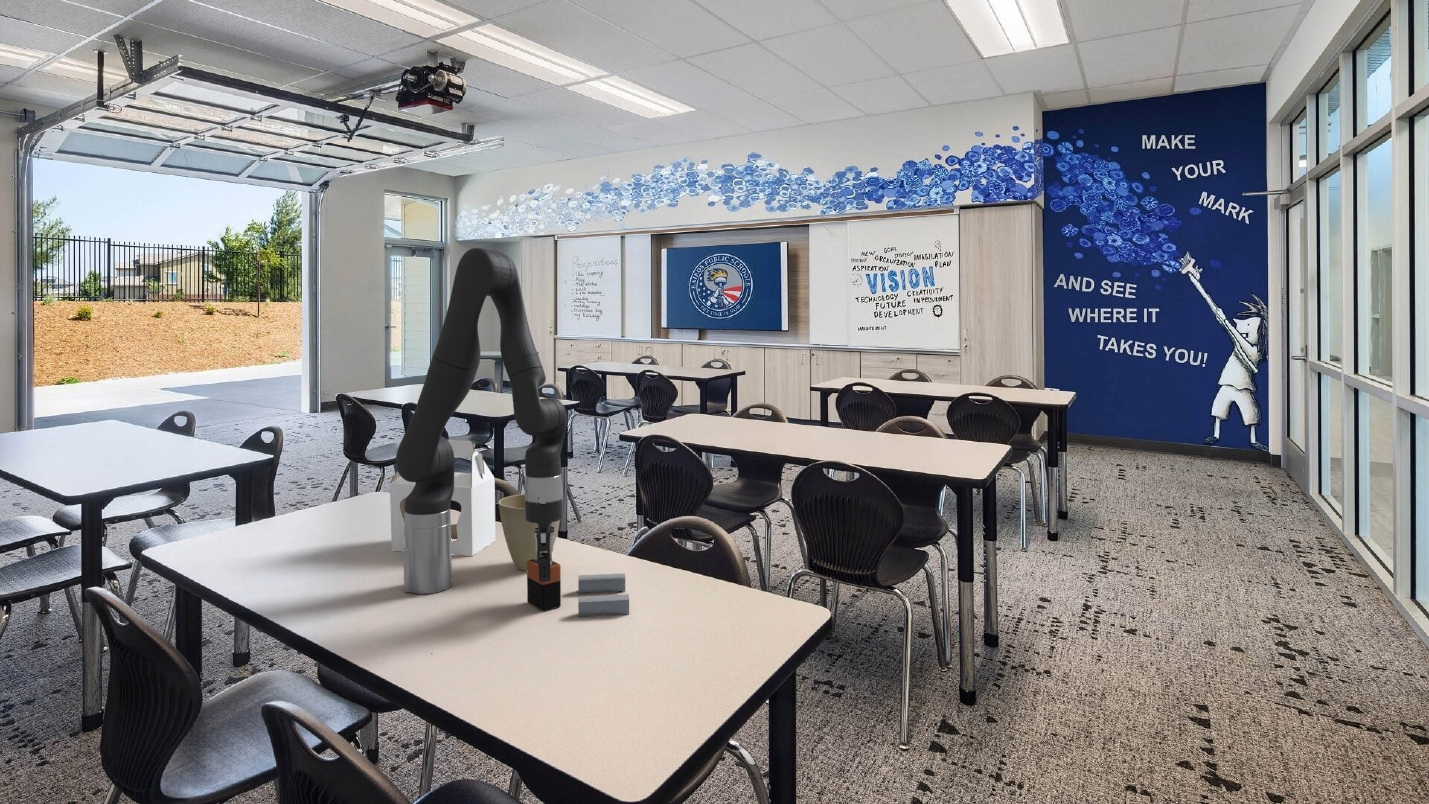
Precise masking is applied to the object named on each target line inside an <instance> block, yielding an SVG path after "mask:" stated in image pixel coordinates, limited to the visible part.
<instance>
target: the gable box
mask: <svg viewBox="0 0 1429 804" xmlns="http://www.w3.org/2000/svg"><path fill="white" fill-rule="evenodd" d="M446 439H447V438H446ZM447 440H448V441H449V443H450V444H451V446H452V449H453V452H454V459H456V458H457V459H458V458H459V459H467V460H470V469H471V470H470V472H458V471H457V472H456V471H454V492H453V496H452V498H451V501H454V502H457V503H459V505H460V506H461V507H460V508H461V509H460V513H459V516H458V519H457V523H456V524H453V523H452V524H451V538H452V539H457V540H456V541H453V542H452V541H451V554H454V555H453V556H457V555H467V556H466V557H474V556H475V555H476V554H475V553H477V554H479V553H480V552H482V551H483V550H484V549H483V548H485V547H486V546H488V545H489V546H491V545H492V544H493V543H492V542H494V541H495V542H496V495H495V494H496V492H495V491H496V489H495V488H496V487H495V486H496V485H495V483H496V482H495V476H494V474H492V471H491V470H490V468H489V467H488V465H487V463H486V462H485V460H484V454H483V452H479V451H475V449H476V443H474V442H473V441H472V440H471V439H469V440H468V439H447ZM415 484H416V482H409V481H406V480H404V479H403V478H402V477H401V476H400V475H399V473H398V471H397V470H396V471H395V473H394V475H393V477H392V479H391V481H390V482H389V501H390V502H389V503H390V507H389V508H390V532H391V533H390V534H391V535H390V536H391V539H390V540H391V551H392V552H395V551H403V550H404V548H405V546H406V532H405V499H406V497H407V496H408V495H409V494H410V493H411V492H412V490H413V488H414V486H415ZM495 542H494V543H495ZM491 543H492V544H491ZM490 544H491V545H490ZM489 546H488V547H489ZM486 548H487V547H486ZM486 548H485V549H486ZM482 549H483V550H482ZM479 551H480V552H479ZM474 554H475V555H474ZM473 555H474V556H473Z"/></svg>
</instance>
